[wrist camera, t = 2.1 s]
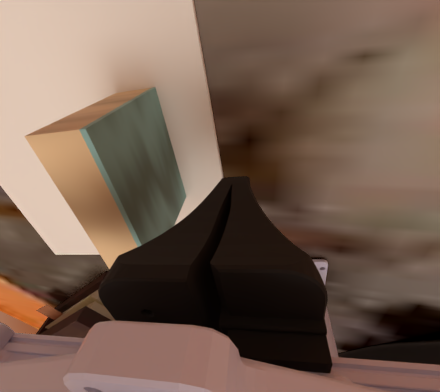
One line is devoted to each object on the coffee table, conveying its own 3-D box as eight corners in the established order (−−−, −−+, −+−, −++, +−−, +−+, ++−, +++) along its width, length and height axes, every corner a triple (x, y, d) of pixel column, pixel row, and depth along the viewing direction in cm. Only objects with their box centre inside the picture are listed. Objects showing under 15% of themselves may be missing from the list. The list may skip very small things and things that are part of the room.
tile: (186, 196, 21) (154, 271, 15) (155, 198, 22) (110, 271, 15) (155, 87, 16) (85, 128, 10) (115, 93, 17) (24, 136, 10)
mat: (236, 251, 25) (235, 253, 25) (57, 252, 29) (55, 254, 29) (177, -92, 11) (175, -96, 11) (-137, 3, 16) (-145, 3, 15)
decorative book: (166, 421, 43) (-2, 352, 32) (178, 372, 49) (40, 300, 38) (250, 415, 34) (54, 315, 23) (252, 355, 40) (97, 254, 29)
